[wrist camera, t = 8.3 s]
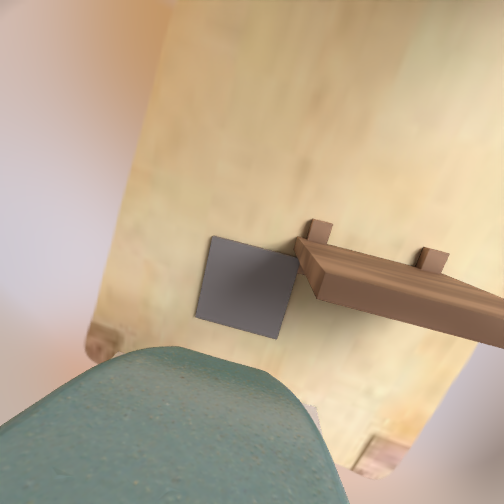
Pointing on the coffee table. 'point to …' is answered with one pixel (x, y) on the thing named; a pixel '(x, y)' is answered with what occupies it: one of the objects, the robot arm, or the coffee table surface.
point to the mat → (246, 287)
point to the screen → (399, 288)
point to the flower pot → (167, 438)
